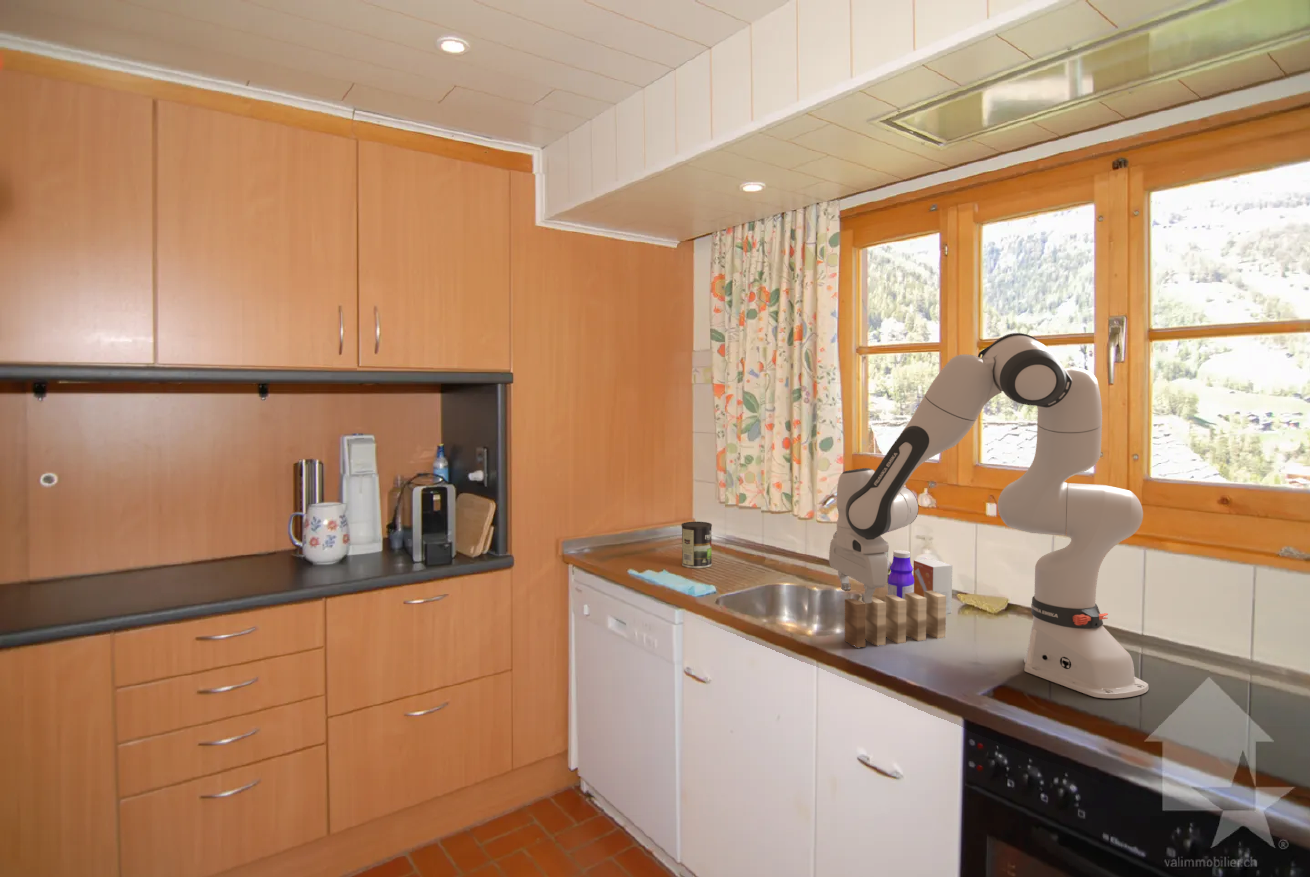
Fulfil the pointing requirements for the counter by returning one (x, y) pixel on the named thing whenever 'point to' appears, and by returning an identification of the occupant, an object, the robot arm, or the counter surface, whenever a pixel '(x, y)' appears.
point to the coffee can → (696, 545)
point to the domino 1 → (855, 622)
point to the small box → (933, 579)
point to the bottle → (901, 574)
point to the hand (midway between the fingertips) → (856, 596)
